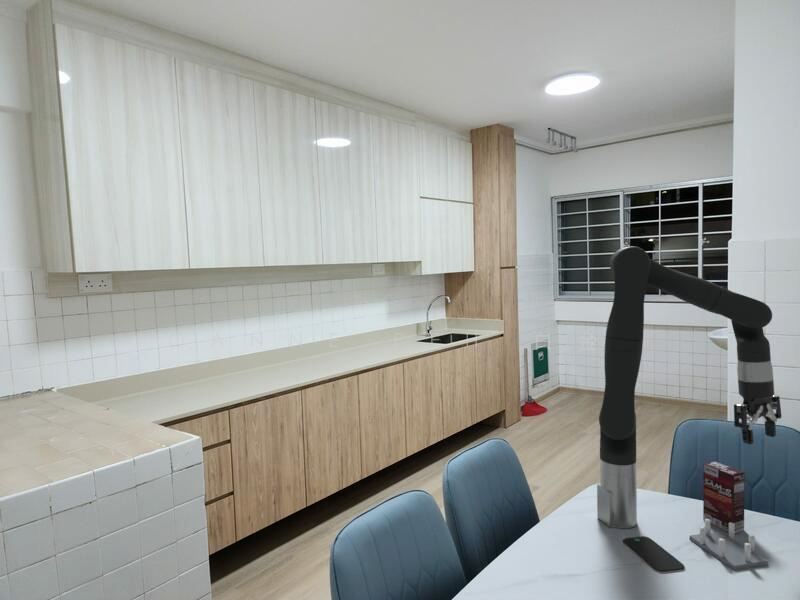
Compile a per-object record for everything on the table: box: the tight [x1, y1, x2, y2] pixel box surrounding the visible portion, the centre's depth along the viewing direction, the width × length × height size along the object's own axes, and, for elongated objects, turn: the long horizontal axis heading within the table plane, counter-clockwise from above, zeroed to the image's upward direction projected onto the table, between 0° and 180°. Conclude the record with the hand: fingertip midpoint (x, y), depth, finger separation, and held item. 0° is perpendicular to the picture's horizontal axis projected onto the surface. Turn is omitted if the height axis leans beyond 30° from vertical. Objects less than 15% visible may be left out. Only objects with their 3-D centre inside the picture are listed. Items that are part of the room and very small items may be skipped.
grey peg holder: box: [689, 519, 769, 571], centre depth 126 cm, size 9×14×5 cm
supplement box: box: [702, 461, 746, 534], centre depth 138 cm, size 9×5×16 cm, turn 23°
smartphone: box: [622, 535, 686, 574], centre depth 126 cm, size 8×1×15 cm
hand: (759, 439), depth 133 cm, fingers open, 8 cm apart
